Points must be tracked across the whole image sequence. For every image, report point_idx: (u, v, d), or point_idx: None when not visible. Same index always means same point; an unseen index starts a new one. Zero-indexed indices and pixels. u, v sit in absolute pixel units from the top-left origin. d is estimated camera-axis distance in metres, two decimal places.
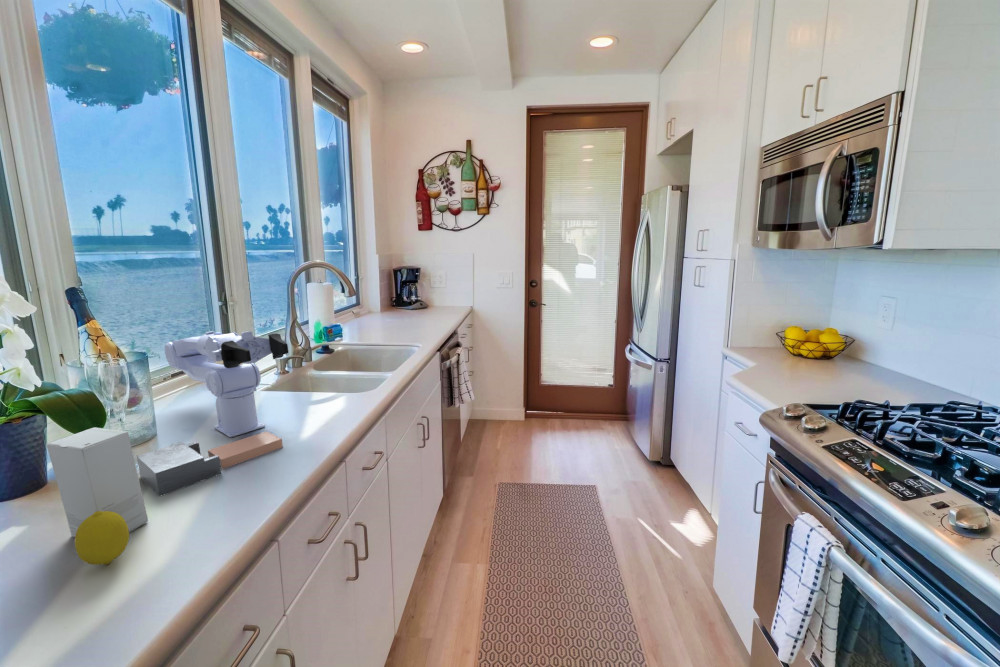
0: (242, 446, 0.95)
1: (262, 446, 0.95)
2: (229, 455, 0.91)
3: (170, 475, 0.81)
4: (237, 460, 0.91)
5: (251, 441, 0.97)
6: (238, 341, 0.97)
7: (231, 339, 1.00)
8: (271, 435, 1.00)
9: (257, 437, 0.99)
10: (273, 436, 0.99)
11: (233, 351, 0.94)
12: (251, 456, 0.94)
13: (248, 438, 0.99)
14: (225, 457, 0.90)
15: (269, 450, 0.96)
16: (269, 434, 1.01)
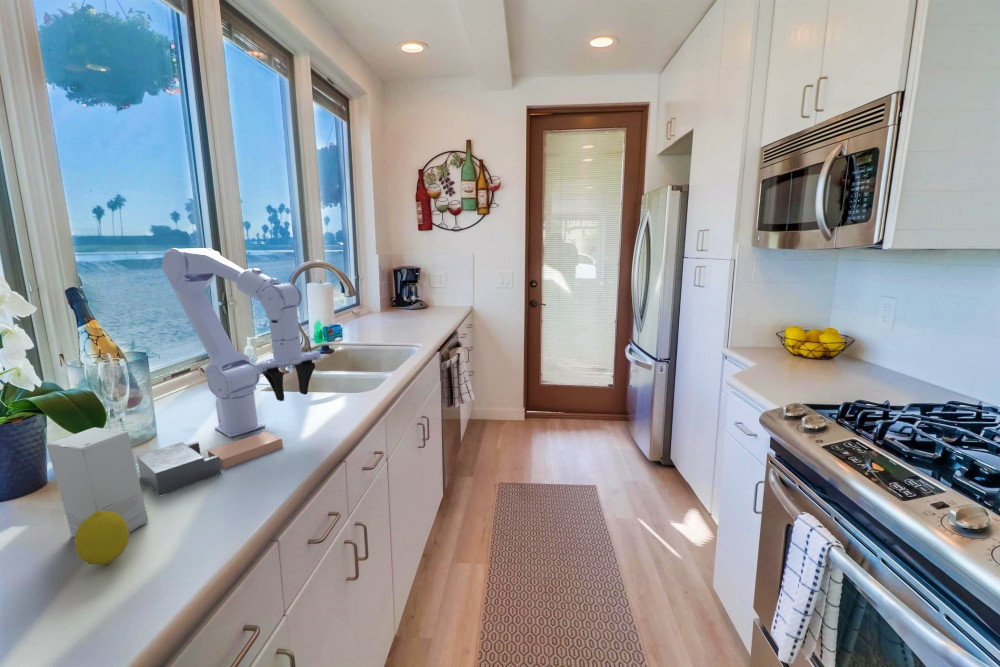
0: (242, 446, 0.95)
1: (262, 445, 0.95)
2: (230, 455, 0.91)
3: (170, 475, 0.81)
4: (237, 460, 0.91)
5: (251, 441, 0.97)
6: (284, 364, 0.98)
7: (284, 341, 0.98)
8: (271, 435, 1.00)
9: (257, 437, 0.99)
10: (273, 436, 1.00)
11: None
12: (252, 456, 0.94)
13: (248, 438, 0.99)
14: (226, 457, 0.90)
15: (269, 450, 0.96)
16: (269, 434, 1.01)
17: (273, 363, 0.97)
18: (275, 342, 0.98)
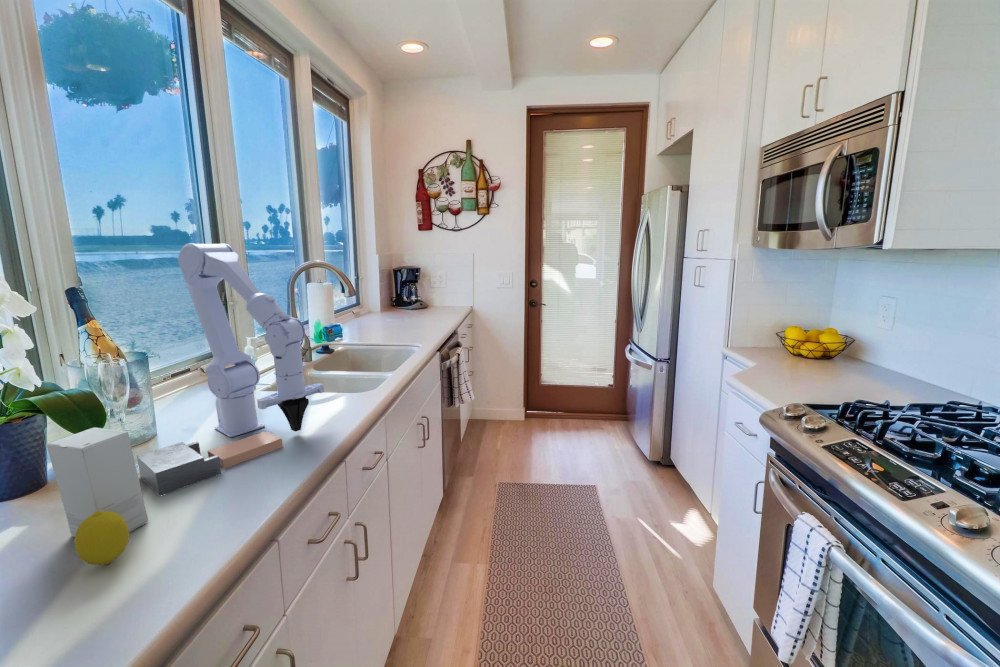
0: (243, 446, 0.95)
1: (262, 445, 0.95)
2: (230, 455, 0.91)
3: (170, 475, 0.81)
4: (238, 460, 0.91)
5: (251, 441, 0.97)
6: (288, 399, 1.00)
7: (288, 377, 0.99)
8: (270, 435, 1.00)
9: (257, 437, 0.99)
10: (273, 436, 1.00)
11: None
12: (252, 456, 0.94)
13: (247, 438, 0.99)
14: (226, 457, 0.90)
15: (269, 450, 0.97)
16: (268, 434, 1.01)
17: (277, 398, 0.98)
18: (279, 378, 0.99)
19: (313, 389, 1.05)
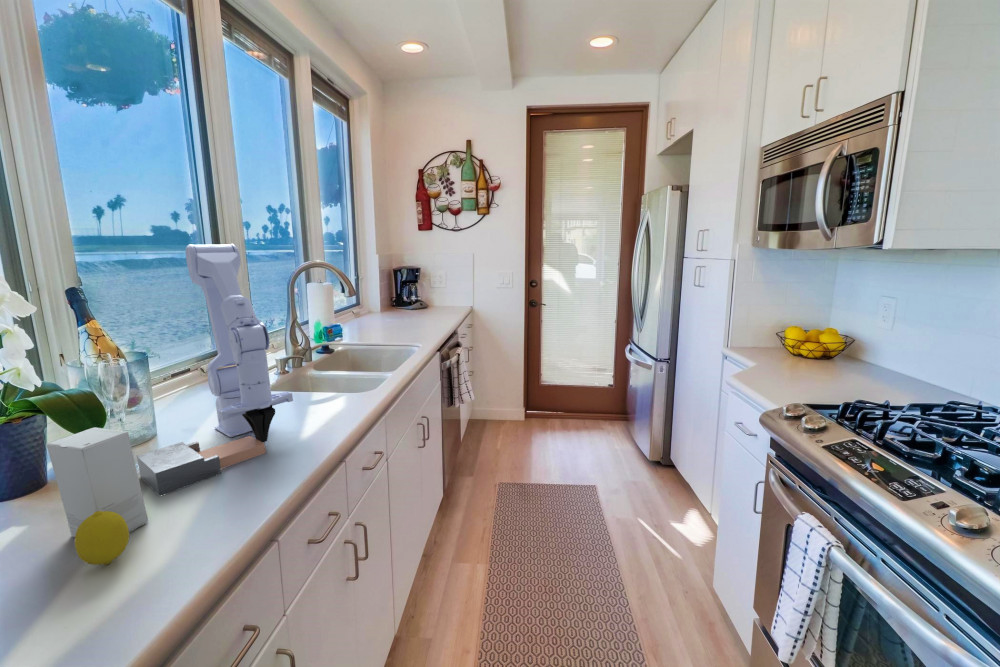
0: (223, 451, 0.92)
1: (243, 451, 0.92)
2: None
3: (170, 475, 0.81)
4: None
5: (233, 446, 0.94)
6: (251, 409, 0.94)
7: (251, 386, 0.93)
8: (254, 440, 0.98)
9: (240, 442, 0.96)
10: (256, 441, 0.97)
11: None
12: (232, 462, 0.91)
13: (230, 443, 0.96)
14: None
15: (251, 455, 0.94)
16: (252, 438, 0.98)
17: (240, 409, 0.93)
18: (242, 386, 0.93)
19: (280, 398, 0.99)
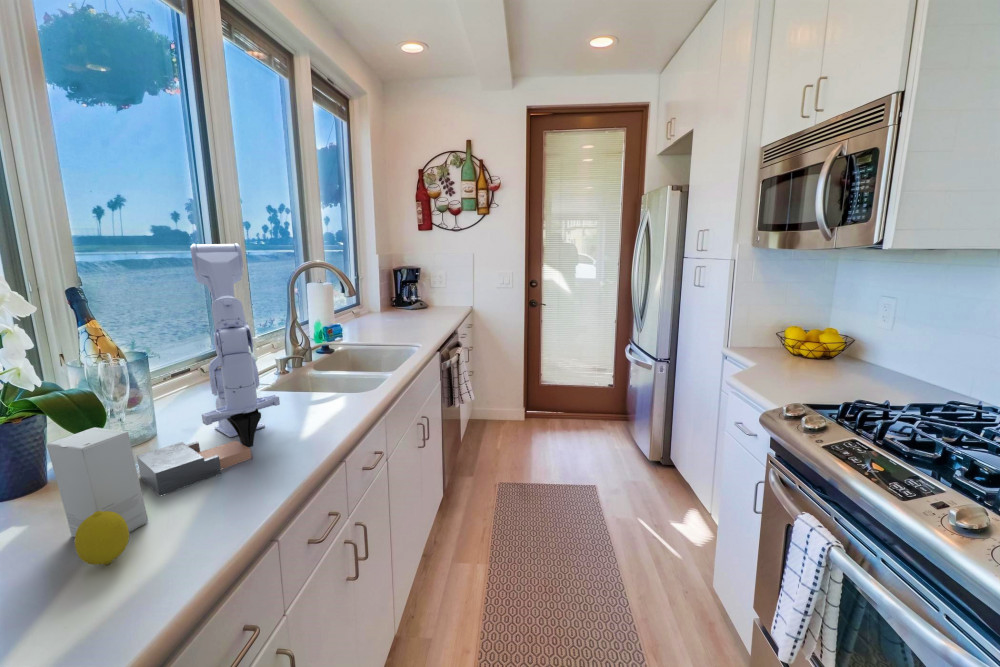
0: (208, 457, 0.90)
1: (228, 456, 0.90)
2: None
3: (170, 475, 0.81)
4: None
5: (218, 452, 0.92)
6: (236, 413, 0.92)
7: (236, 389, 0.91)
8: (240, 445, 0.95)
9: (225, 447, 0.94)
10: (242, 446, 0.94)
11: None
12: None
13: (215, 448, 0.94)
14: None
15: (237, 461, 0.91)
16: (238, 444, 0.96)
17: (224, 413, 0.90)
18: (227, 390, 0.91)
19: (266, 402, 0.97)
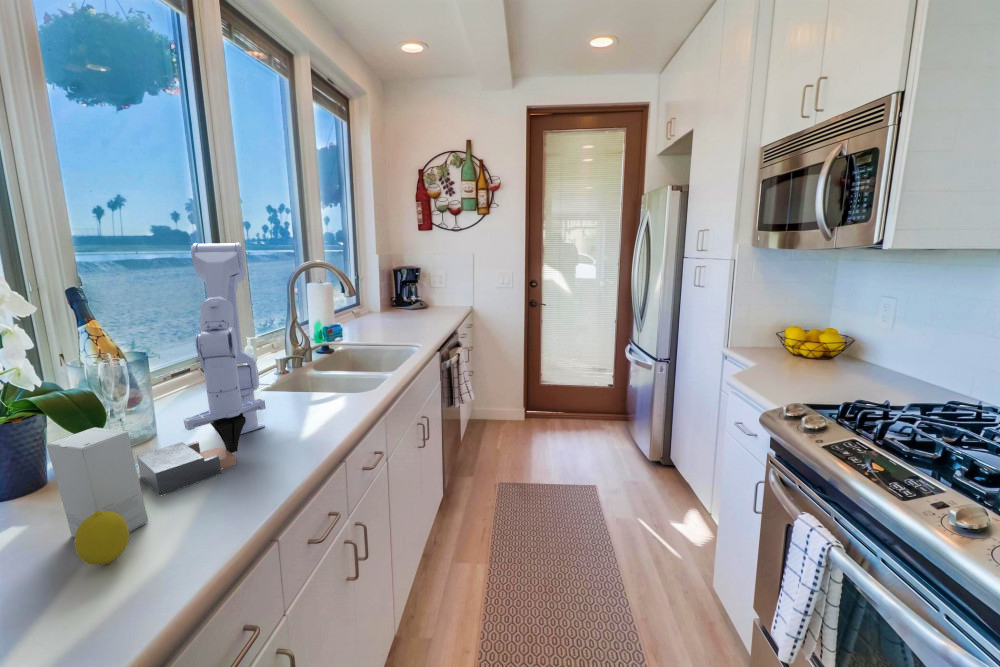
0: None
1: None
2: None
3: (170, 475, 0.81)
4: None
5: None
6: (219, 418, 0.89)
7: (219, 393, 0.89)
8: (224, 451, 0.93)
9: (209, 453, 0.92)
10: (226, 452, 0.92)
11: None
12: None
13: None
14: None
15: None
16: (222, 449, 0.93)
17: (207, 418, 0.88)
18: (210, 394, 0.89)
19: (251, 406, 0.94)
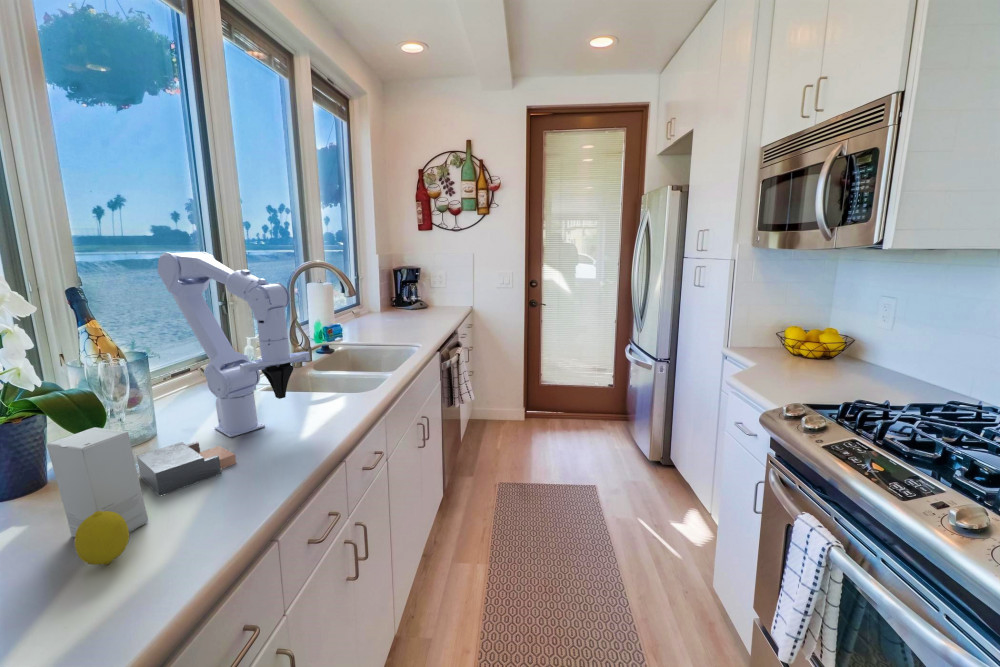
0: None
1: None
2: None
3: (170, 475, 0.81)
4: None
5: None
6: (271, 364, 0.98)
7: (271, 342, 0.97)
8: (223, 450, 0.93)
9: (208, 453, 0.92)
10: (226, 452, 0.92)
11: None
12: None
13: None
14: None
15: (221, 467, 0.89)
16: (221, 449, 0.93)
17: (260, 364, 0.97)
18: (262, 342, 0.97)
19: (298, 356, 1.03)
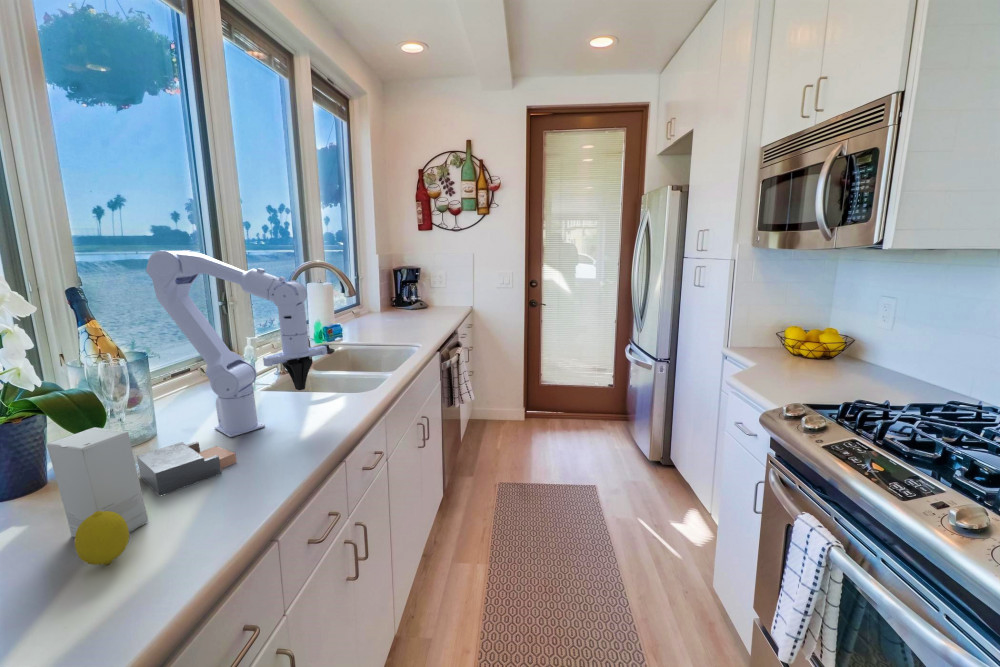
0: None
1: None
2: None
3: (170, 475, 0.81)
4: None
5: None
6: (292, 358, 1.04)
7: (292, 336, 1.03)
8: (222, 450, 0.93)
9: (207, 453, 0.92)
10: (225, 451, 0.93)
11: None
12: None
13: None
14: None
15: (222, 466, 0.90)
16: (220, 449, 0.94)
17: (282, 357, 1.02)
18: (284, 337, 1.03)
19: (317, 350, 1.09)
